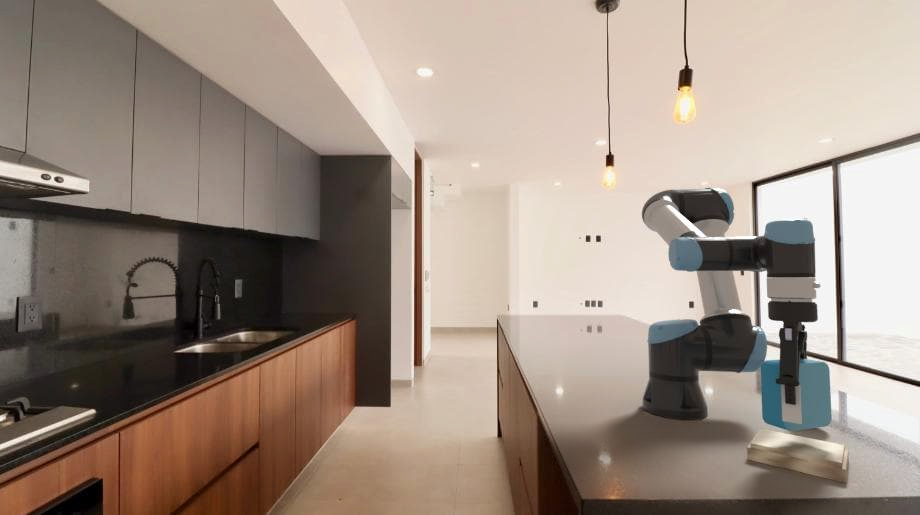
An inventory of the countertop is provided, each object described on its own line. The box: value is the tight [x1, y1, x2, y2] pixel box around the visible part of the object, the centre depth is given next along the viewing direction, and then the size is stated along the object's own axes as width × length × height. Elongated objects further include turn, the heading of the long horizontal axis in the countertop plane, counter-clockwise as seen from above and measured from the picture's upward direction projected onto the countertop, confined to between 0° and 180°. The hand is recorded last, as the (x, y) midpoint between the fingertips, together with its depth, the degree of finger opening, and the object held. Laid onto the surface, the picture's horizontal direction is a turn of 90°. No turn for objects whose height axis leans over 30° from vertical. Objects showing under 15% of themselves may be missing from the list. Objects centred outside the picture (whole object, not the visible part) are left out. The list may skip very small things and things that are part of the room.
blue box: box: [760, 358, 833, 432], centre depth 82 cm, size 12×4×12 cm, turn 107°
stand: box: [746, 428, 850, 484], centre depth 82 cm, size 14×12×3 cm
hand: (796, 414), depth 82 cm, fingers closed on blue box, 12 cm apart
